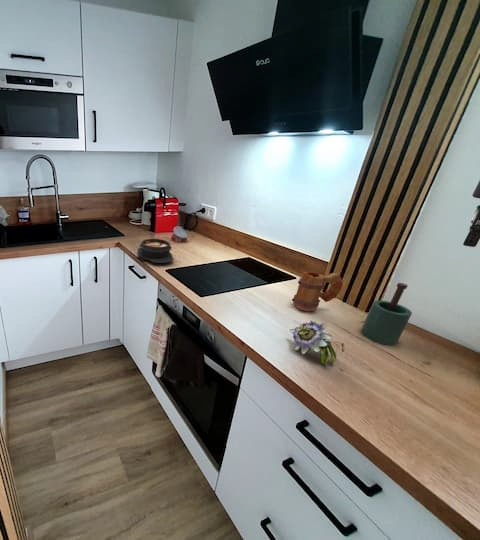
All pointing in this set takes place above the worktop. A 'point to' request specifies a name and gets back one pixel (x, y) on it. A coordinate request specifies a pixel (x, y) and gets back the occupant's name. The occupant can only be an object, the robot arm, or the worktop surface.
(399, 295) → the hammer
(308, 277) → the mug
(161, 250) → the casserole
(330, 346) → the passion flower
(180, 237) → the canned food
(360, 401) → the worktop surface
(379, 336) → the green pencil cup
